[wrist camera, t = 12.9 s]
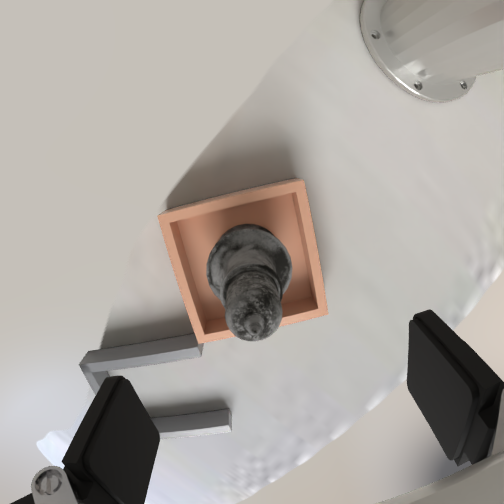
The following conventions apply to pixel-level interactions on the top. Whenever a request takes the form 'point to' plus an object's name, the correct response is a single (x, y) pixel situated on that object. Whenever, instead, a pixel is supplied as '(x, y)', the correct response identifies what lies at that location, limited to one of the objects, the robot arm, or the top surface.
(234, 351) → the top surface
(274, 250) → the chess piece
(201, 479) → the top surface
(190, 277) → the dish
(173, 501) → the top surface
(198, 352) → the cubby
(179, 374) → the top surface
